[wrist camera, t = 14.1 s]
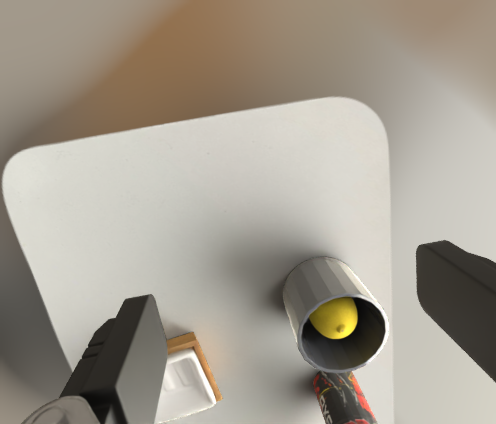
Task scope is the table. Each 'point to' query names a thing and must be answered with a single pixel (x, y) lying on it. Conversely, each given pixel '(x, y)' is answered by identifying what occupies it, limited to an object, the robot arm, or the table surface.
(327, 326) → the lemon
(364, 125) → the table surface
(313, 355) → the steel cup
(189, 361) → the soap dish
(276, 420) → the table surface
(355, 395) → the deodorant
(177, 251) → the table surface
